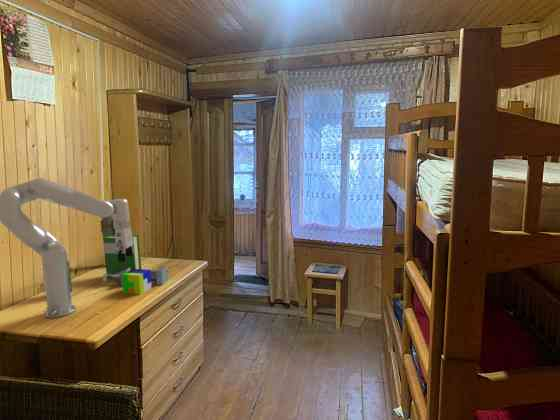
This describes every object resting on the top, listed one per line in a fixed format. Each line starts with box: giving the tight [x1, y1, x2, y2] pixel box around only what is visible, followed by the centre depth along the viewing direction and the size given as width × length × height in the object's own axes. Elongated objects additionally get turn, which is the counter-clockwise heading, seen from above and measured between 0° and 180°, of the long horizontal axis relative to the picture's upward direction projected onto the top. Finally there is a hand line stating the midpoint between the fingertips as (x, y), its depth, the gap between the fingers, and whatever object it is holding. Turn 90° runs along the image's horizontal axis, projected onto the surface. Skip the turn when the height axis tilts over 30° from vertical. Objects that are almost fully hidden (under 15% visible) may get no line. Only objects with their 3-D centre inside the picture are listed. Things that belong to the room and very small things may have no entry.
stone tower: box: [100, 215, 115, 239], centre depth 247 cm, size 9×12×35 cm
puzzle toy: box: [122, 268, 152, 295], centre depth 199 cm, size 10×10×10 cm
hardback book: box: [102, 234, 142, 280], centre depth 222 cm, size 18×7×24 cm, turn 84°
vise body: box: [113, 265, 169, 286], centre depth 212 cm, size 12×30×8 cm, turn 92°
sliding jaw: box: [102, 267, 131, 287], centre depth 211 cm, size 9×12×8 cm
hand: (125, 258), depth 187 cm, fingers open, 9 cm apart
